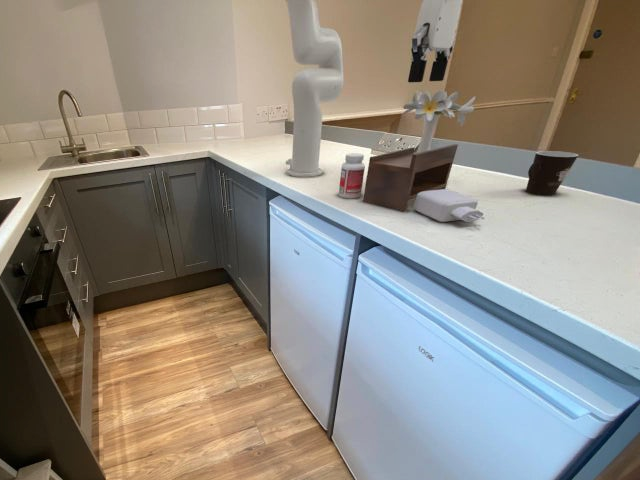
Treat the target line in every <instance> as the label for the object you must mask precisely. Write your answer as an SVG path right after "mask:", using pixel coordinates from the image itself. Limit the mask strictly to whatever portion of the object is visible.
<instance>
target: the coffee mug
mask: <svg viewBox="0 0 640 480" xmlns="http://www.w3.org/2000/svg"><path fill="white" fill-rule="evenodd" d="M561 155H564V156H561ZM568 156H569V157H568ZM578 157H579V154H578V153H574V152H569V151H558V150H542V151H541V150H540V151H536V152H535V155H534V159H533V162H532V164H531V165H530V167H529V168H528V172H527V175H528V176H527V177H528V181H527V184H526V189H525V192H526V193H527V194H530V195H535V196H540V197H541V196H543V197H551V196H555V195H556V194H557V191H558V189H559V188H560V186H561V185H562V184H563V181H564V180H565V179H566V177H567V175H568V173H569V172H570V170H571V169H572V167H573V166H574V163H575V162H576V160H577V159H578Z"/></svg>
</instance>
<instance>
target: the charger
mask: <svg viewBox="0 0 640 480" xmlns="http://www.w3.org/2000/svg"><path fill="white" fill-rule="evenodd" d="M478 202H479V201H478V199H477V198H474V197H472V196H469V195H465V194H462V193H460V192H457V191H454V190H451V189H448V188H445V189H441V190H431V191H423V192H420V193H418V194H417V196H416V198H415V201H414V205H413V210H414V211H416V212H418V213H420V214H423V215H425V216H427V217H429V218H431V219H434V220H435V221H437V222H439V223H440V222H441V223H445V222H455V221H463V222H465V223H468V222H469V223H470V222H475V221H478V219H481V220H485V217H484V213H483V212H482V211H480V210H478V209H477V205H478Z"/></svg>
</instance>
